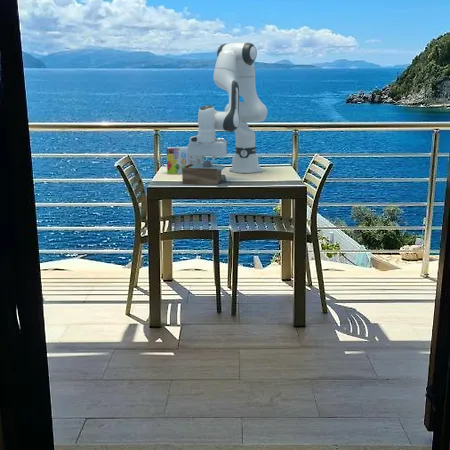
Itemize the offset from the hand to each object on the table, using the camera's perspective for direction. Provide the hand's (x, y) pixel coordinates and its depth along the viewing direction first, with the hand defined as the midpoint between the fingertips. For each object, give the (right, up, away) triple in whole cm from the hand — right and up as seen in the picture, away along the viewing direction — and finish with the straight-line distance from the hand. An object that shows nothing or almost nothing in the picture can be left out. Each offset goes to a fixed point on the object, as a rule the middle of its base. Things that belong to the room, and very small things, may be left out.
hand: (207, 164), depth 301 cm
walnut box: (-3, -9, +3) cm, 10 cm away
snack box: (-13, -2, +28) cm, 31 cm away
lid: (0, -2, 0) cm, 2 cm away
